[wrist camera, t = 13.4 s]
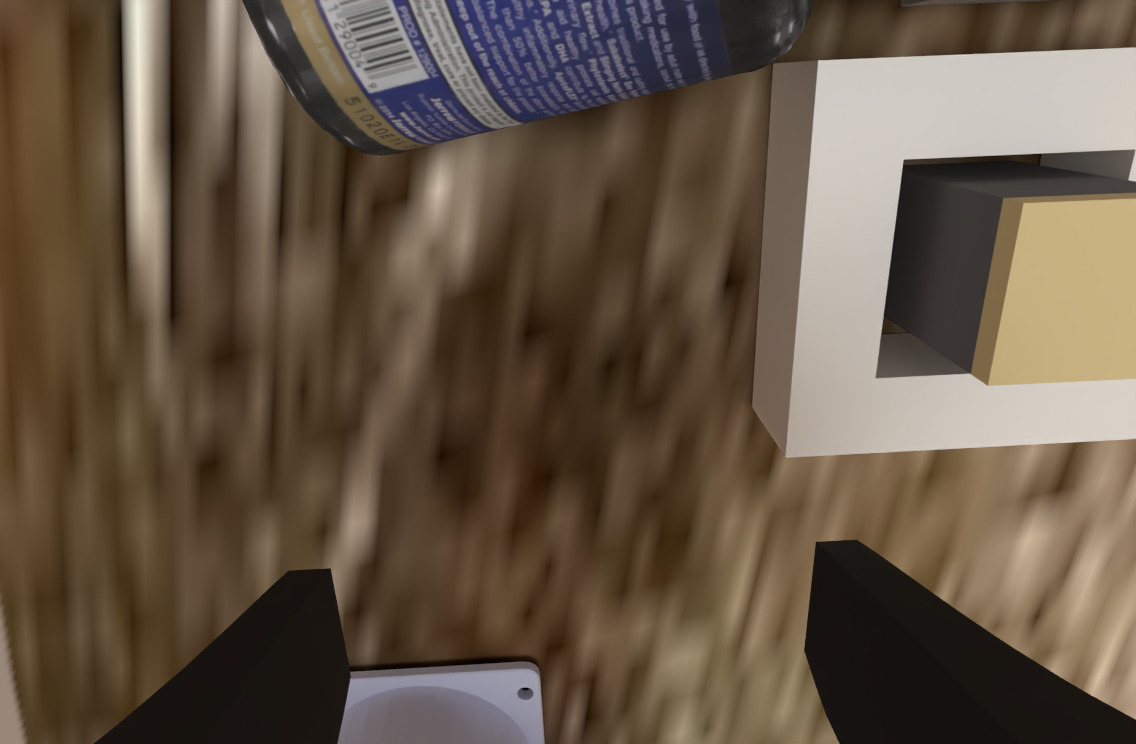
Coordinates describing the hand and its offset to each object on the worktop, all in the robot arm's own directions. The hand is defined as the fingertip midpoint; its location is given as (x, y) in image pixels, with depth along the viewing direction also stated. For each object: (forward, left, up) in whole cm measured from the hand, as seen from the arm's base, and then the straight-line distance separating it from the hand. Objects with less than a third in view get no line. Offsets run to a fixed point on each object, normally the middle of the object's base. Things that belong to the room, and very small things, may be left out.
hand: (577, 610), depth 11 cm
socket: (+3, -10, -10) cm, 14 cm away
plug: (+3, -10, -10) cm, 14 cm away
